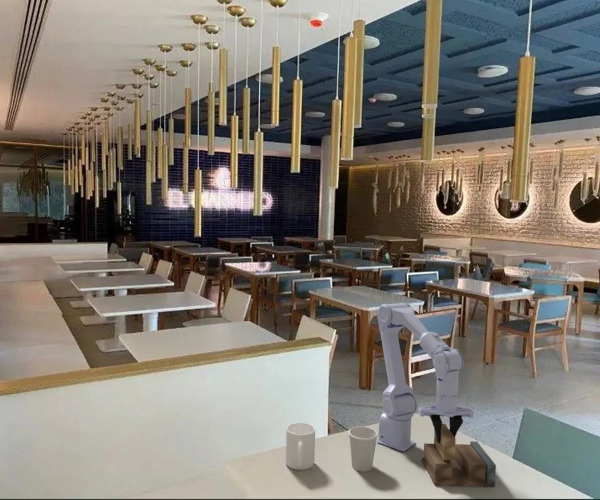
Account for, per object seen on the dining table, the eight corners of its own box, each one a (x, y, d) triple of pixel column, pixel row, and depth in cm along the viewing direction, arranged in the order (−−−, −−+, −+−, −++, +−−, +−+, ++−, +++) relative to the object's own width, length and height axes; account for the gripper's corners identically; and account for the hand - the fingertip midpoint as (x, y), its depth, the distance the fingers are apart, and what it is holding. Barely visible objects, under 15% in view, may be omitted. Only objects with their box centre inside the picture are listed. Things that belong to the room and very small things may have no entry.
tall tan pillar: (443, 460, 135) (444, 438, 135) (433, 443, 145) (434, 423, 144) (454, 460, 135) (455, 438, 134) (444, 444, 145) (445, 423, 144)
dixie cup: (342, 469, 140) (343, 434, 140) (353, 456, 148) (354, 423, 147) (370, 476, 137) (372, 441, 136) (380, 464, 144) (382, 430, 143)
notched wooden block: (434, 485, 133) (435, 463, 133) (421, 460, 147) (422, 440, 147) (494, 487, 133) (495, 465, 133) (476, 461, 147) (477, 441, 147)
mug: (315, 478, 135) (316, 441, 134) (284, 477, 135) (285, 440, 134) (314, 457, 147) (315, 423, 146) (285, 456, 147) (286, 422, 146)
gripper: (424, 397, 135) (422, 447, 135) (478, 399, 134) (475, 448, 135) (418, 389, 142) (416, 435, 142) (469, 390, 142) (467, 437, 142)
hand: (444, 441), depth 139 cm, fingers closed on tall tan pillar, 3 cm apart
